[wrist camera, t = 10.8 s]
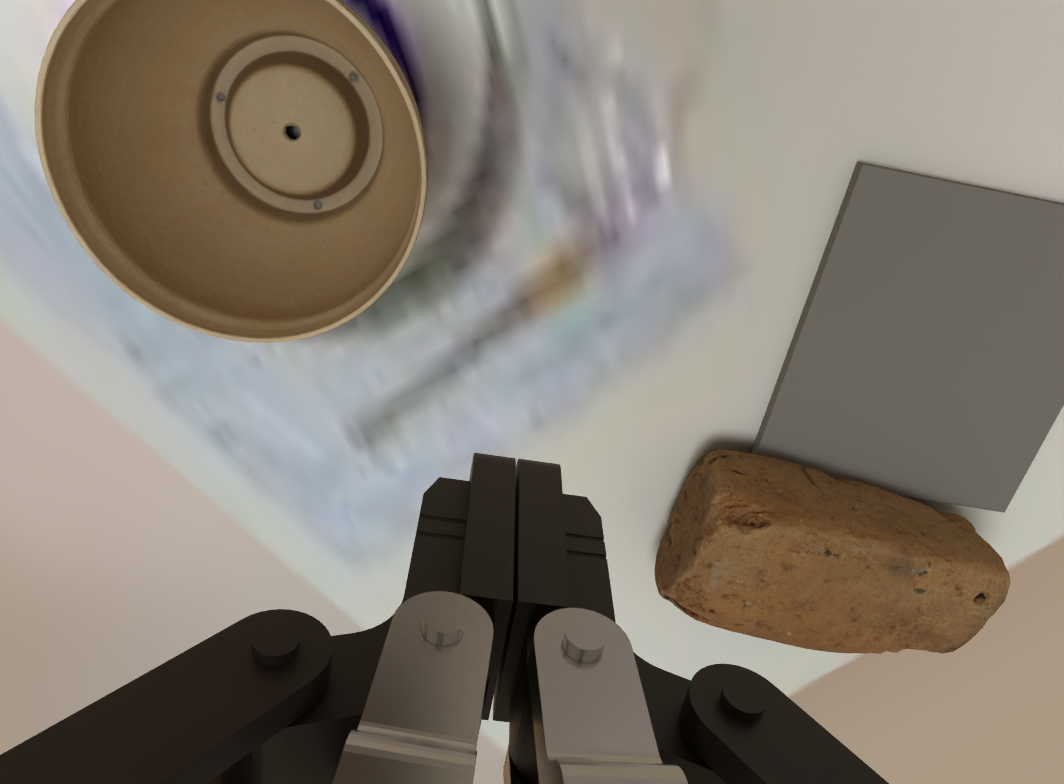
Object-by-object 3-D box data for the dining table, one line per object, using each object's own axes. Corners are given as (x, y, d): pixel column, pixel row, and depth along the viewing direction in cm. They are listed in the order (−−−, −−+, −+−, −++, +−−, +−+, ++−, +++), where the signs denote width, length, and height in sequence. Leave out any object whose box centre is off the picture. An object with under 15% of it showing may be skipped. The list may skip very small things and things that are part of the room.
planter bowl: (160, -91, 39) (40, -117, 29) (482, 20, 41) (470, 31, 32) (129, 223, 46) (24, 287, 36) (407, 303, 48) (379, 384, 38)
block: (727, 507, 45) (1036, 586, 48) (705, 427, 51) (979, 502, 54) (653, 631, 50) (933, 694, 54) (641, 546, 57) (893, 607, 60)
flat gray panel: (857, 161, 45) (863, 164, 44) (1152, 221, 46) (1162, 225, 46) (746, 464, 53) (749, 471, 53) (998, 505, 55) (1004, 512, 54)
